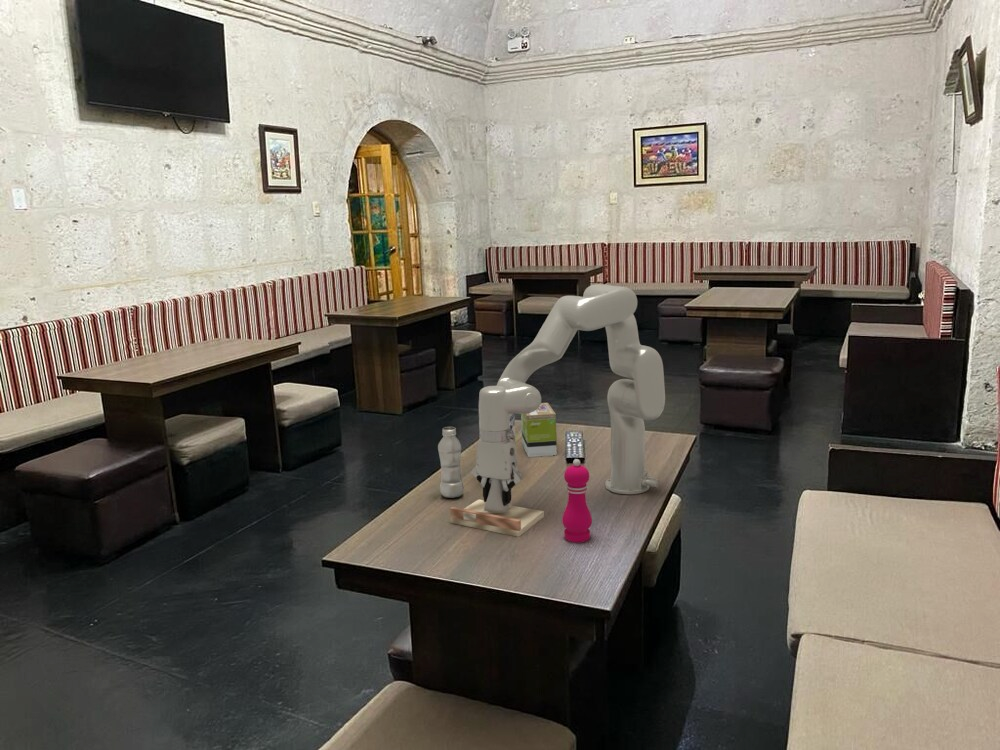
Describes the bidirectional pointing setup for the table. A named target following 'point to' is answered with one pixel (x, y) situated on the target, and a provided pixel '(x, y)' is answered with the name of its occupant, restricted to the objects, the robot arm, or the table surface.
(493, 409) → the robot arm
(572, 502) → the pepper mill
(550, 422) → the tea box
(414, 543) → the table surface
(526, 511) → the shelf board
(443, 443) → the plastic bottle
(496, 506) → the flask
